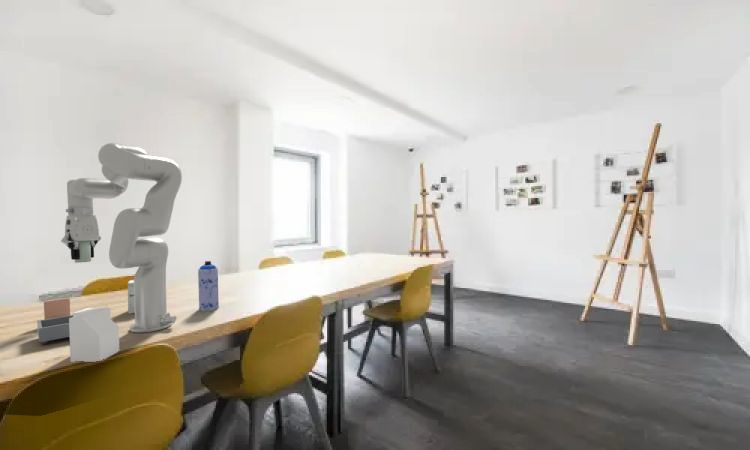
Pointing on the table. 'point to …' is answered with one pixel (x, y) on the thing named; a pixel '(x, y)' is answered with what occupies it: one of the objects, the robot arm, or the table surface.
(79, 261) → the part
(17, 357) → the table surface
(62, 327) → the grey desk organizer
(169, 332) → the table surface
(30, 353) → the table surface
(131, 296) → the supplement box
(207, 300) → the aerosol can
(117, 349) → the white angular block
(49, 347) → the table surface
